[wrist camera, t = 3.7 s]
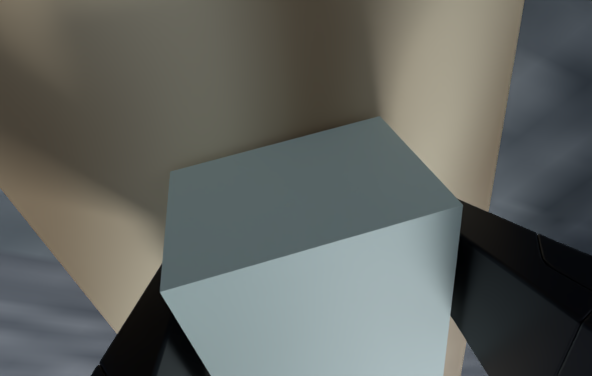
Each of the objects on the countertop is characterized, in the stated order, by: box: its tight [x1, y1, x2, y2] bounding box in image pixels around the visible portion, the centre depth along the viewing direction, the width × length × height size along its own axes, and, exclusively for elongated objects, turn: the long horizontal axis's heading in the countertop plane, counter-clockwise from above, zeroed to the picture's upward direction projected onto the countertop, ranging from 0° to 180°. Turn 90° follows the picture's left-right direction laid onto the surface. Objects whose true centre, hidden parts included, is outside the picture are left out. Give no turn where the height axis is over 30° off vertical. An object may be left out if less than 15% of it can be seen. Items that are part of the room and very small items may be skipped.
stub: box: [160, 116, 463, 376], centre depth 9 cm, size 5×6×4 cm
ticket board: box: [0, 0, 524, 376], centre depth 11 cm, size 12×22×5 cm, turn 10°
